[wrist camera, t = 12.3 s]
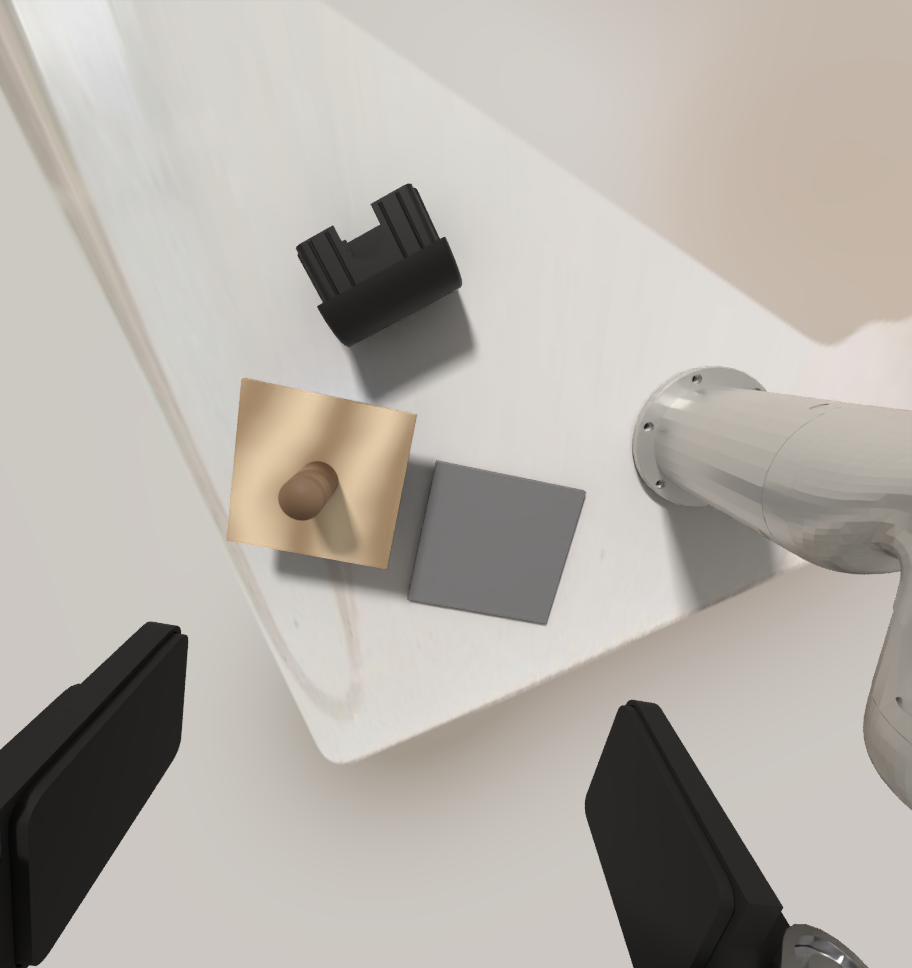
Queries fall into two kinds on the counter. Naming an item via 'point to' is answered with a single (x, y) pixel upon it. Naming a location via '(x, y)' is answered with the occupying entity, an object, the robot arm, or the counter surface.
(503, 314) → the counter surface
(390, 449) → the lid
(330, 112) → the counter surface
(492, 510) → the mat
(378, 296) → the end cap
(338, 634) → the counter surface
